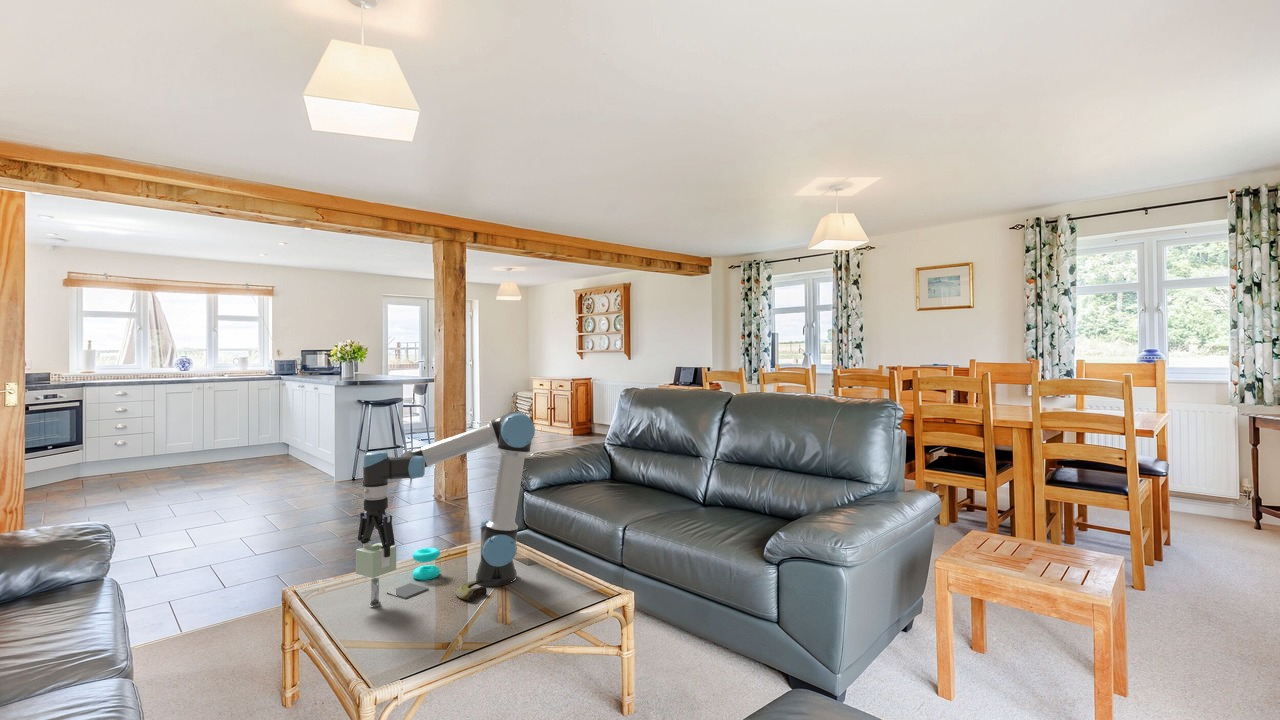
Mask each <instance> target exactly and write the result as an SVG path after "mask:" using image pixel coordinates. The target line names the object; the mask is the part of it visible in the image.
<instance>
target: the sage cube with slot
mask: <svg viewBox="0 0 1280 720" xmlns="http://www.w3.org/2000/svg"><path fill="white" fill-rule="evenodd" d="M381 547H383V546H382V543H381V542H377V543H374V544H371V545H370V546H366V547H363V548H362V547H360V548H357V549H355V575H356V574H357V575H360V576H363V577H367V578H371V579H372V578H378V577H379V576H383V575H385V574H389V573H391V572H394V571H397V546H396V545H393V546H391V547H390V566H387V567H384V568H381Z"/></svg>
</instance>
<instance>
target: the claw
mask: <svg viewBox="0 0 1280 720" xmlns="http://www.w3.org/2000/svg"><path fill="white" fill-rule="evenodd" d="M475 584H477V582H476V580H474V581H470V582H467V583H464V584H461V585H460V586H458V588H457V589H456V591H455V595H456V596H457V597H458V598H459V599H461V600H463V601H464V600H465V601H469V602H473V601H474V600H475V599H477V598H479V597H482V596H486V595H487V593H488V592H487V586H480V587H474V588H471V586H473V585H475Z"/></svg>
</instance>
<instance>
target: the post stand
mask: <svg viewBox="0 0 1280 720" xmlns="http://www.w3.org/2000/svg"><path fill="white" fill-rule="evenodd" d="M370 583H371V584H370V587H371V588H370V602H369V603H370V605H371V606H373V607H376V608H379V607H381V606H382V604H381V603H382V602H381V601H380V596H379V595H380V578H379V577H374V578H371V579H370Z"/></svg>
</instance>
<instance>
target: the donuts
mask: <svg viewBox="0 0 1280 720" xmlns="http://www.w3.org/2000/svg"><path fill="white" fill-rule="evenodd" d="M440 556H441V551H440V549H438V548H435V547H424V548H423V547H422V548H420V549H417V550H415V551H414V552H413V554H412V559H413V560H414V561H416V562H419V563H429V562H433V561H436V560H437V559H438V558H439V557H440ZM440 573H441V570H440V568H439V566H437V565H433V564H425V565H421V566H418V567H416V568H415V569H414V570H413V571H412V577H413V579H415V580H419V581H427V580H432V579H435V578H437V577H438V576H439V575H440Z"/></svg>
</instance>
